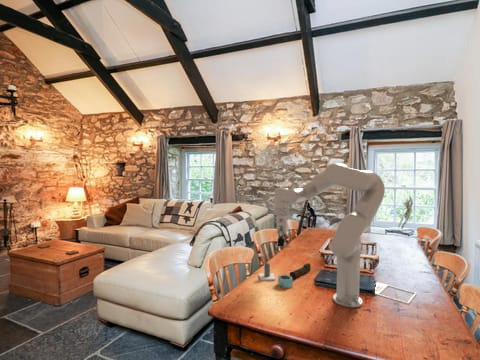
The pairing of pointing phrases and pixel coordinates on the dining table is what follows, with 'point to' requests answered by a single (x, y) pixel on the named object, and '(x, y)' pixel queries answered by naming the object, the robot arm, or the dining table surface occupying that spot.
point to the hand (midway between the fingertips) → (281, 243)
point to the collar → (285, 281)
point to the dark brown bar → (301, 271)
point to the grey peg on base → (267, 274)
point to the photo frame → (382, 287)
